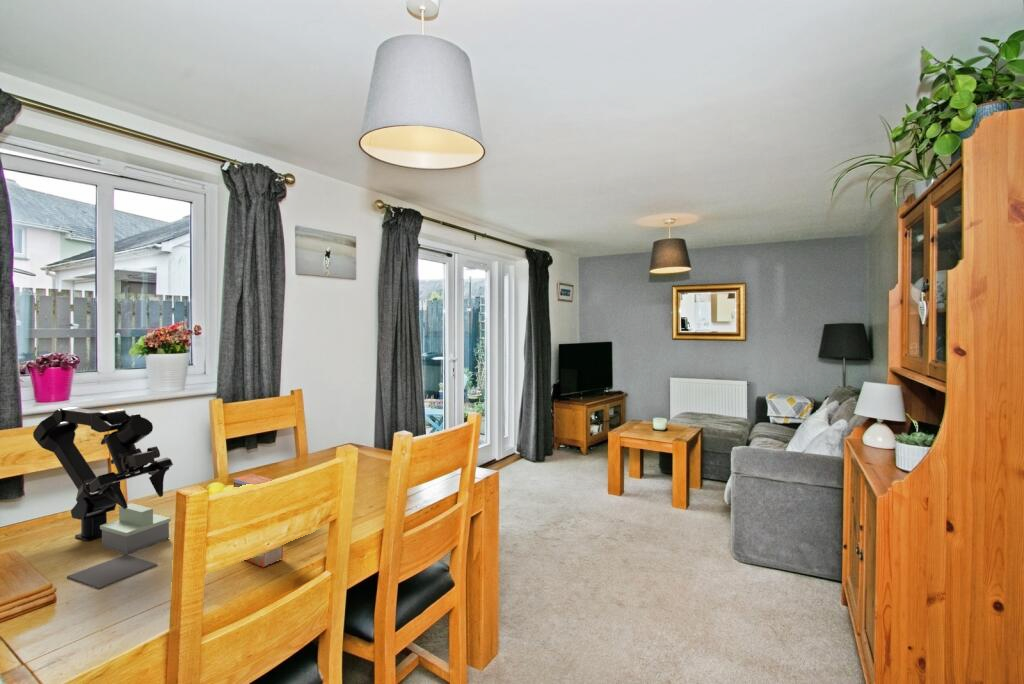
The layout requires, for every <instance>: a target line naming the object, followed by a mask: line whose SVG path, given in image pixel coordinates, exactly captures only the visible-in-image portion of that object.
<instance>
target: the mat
mask: <svg viewBox="0 0 1024 684" xmlns="http://www.w3.org/2000/svg"><path fill="white" fill-rule="evenodd" d="M157 566H158V563H156V562H152V561H149V560H146V559H143V558H139V557H136V556H133V555H130V554H122V555H120V556H118V557H115V558H112V559H109V560H106V561H104V562H101V563H99V564H98V563H97V564H95V565H93V566H90V567H88V568H86V569H85V568H84V569H82V570H80V571H76V572H74V573H71V574H69V575H67V576H66V578H67V579H69V580H72V581H75V582H77V583H80V584H83V585H86V586H88V587H90V588H93V587H94V589H97V590H102V589H103V588H106V587H109V586H111V585H113V584H116V583H118V582H120V581H123V580H126V579H128V578H131V577H133V576H135V575H138V574H140V573H143V572H145V571H147V570H150V569H152V568H154V567H157Z"/></svg>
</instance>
